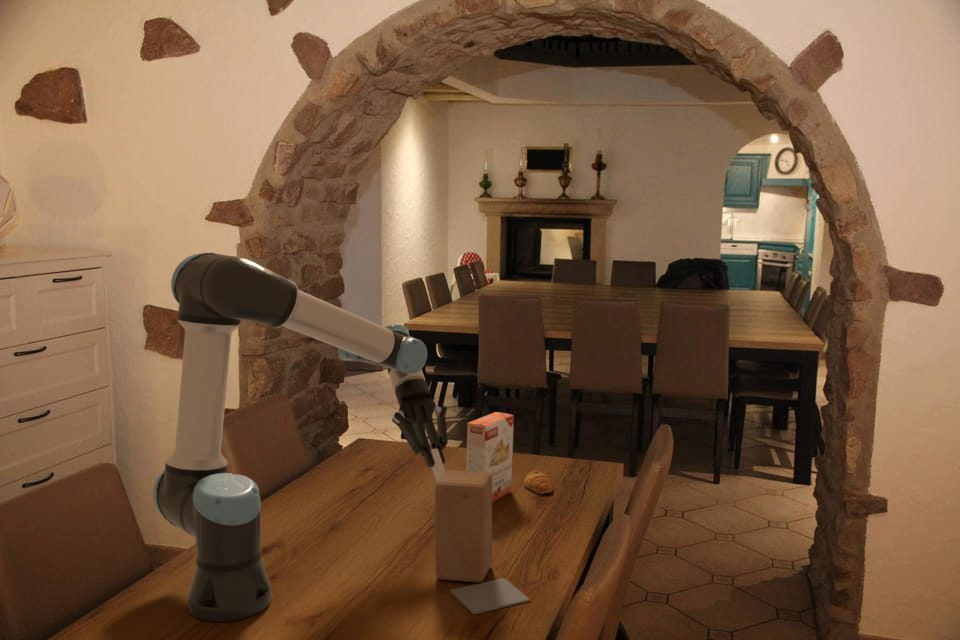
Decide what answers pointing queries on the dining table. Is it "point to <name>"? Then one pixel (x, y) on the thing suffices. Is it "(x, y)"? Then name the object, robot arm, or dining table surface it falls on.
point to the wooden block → (463, 526)
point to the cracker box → (492, 450)
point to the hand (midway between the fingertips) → (441, 478)
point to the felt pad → (489, 595)
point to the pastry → (538, 482)
